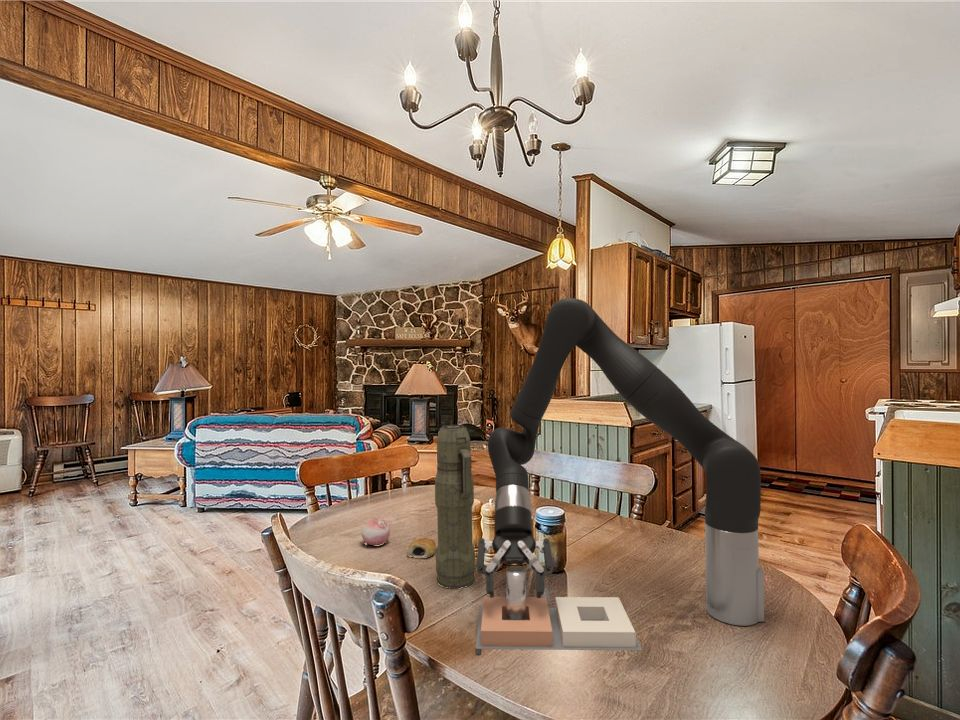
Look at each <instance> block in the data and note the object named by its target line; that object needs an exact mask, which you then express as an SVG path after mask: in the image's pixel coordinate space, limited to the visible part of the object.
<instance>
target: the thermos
mask: <svg viewBox="0 0 960 720" xmlns="http://www.w3.org/2000/svg"><path fill="white" fill-rule="evenodd" d="M436 462H437V467H436V468H437V469H436V475H435V478H434V501H435V502H434V504H435V506H436V508H437V509H436V510H437V515H436V516H437V545H436V550H435V572H436V583H437V582H438V583H439V584H440V585H442V586H444V587H448V588H449V587H450V588H461V587H465V586H468V587H470V586H471V584H472V583H473V582H474V583H475V581H476V578H475V571H476V549H475V547H474V544H473V543H474V542H473V505H474V503H475V498H474V497H475V496H474V495H475V492H474V491H475V487H474V480H475V479H474V478H473V475H472V454H471V437H470V434H469V431H468V429H467V427H466V426H464V425H462V424H448V425H446V424H445V425H443V426H442V427H440V428H439V431H438V434H437V438H436ZM438 583H437V584H438ZM474 583H473V584H474ZM473 584H472V585H473ZM440 585H439V586H440ZM469 585H470V586H469ZM444 587H443V588H444ZM448 588H447V589H448ZM465 588H466V587H465ZM461 589H462V588H461Z"/></svg>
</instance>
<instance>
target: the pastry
mask: <svg viewBox="0 0 960 720" xmlns="http://www.w3.org/2000/svg"><path fill="white" fill-rule="evenodd" d="M436 549H437V545H436V541H435V540H434V539H432V538H429V537H428V538H427V537H423V538H418V539H415V540H414V541H412V542H411V543H409V546H408V551H407V552H406V553H407V556H408V555H409V556H410V555H411V556H421V557H429V556H432V555H433V554H434V553H435V554H436ZM409 556H408V557H409ZM433 556H434V555H433ZM433 556H432V557H433Z"/></svg>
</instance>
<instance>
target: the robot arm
mask: <svg viewBox="0 0 960 720" xmlns="http://www.w3.org/2000/svg"><path fill="white" fill-rule="evenodd" d="M540 339H541V340H540V342H539V346H538V348H537V352H536V353H535V357H534V359H533V362H532V365H531V366H530V369H529V371H528V373H527V375H526V377H525V379H524V382H523V384H522V386H521V388H520V390H519V392H518V394H517V396H516V399H515V401H514V404H513V405H512V407H511V409H510V413H509V416H510V418H511V420H512V421H513V422H514V423H516V424H517V425H518V426H520V427H522V428H523V429H522V432H520V431H516V430H513V429H510V428H506V427H502V426H501V427H500V426H499V427H497V428H495V429H493V431H491V433H490V434H489V437H488V441H487V451H488V455H489V459H490V462H491V466H492V469H493V471H494V475H495V498H494V511H493V512H494V536H493V539H492V540H485V538H484V537H480V538H479V539H478V543H477V545H478V546H477V557H476V572H477V574H478V575H484V576H485V590H486V594H487V595H489V597H490V598H494V597H495V596H494V595H495V587H494V586H495V582H494V581H495V580H494V579H495V578H494V577H495V576H494V575H495V573H496V572H497V570H499V569H500V568H501V566H502V565H503V563H504V564H505V565H506V566H512V565H518V566H522V565H524V564H526V565H527V567H528V568H529V569H531V570H532V571H533V573H534V574H535V587H536V597H537V598H541V597H542V595H544V594H545V590H546V589H545V576H547V575H551V574H553V572H554V571H553V569H554V563H553V555H552V548H551V542H550V539H549V538H548V537H547V538H546V537H545V538H544V539H543V540H535V538H534V534H533V533H534V532H533V518H532V517H533V516H532V514H533V513H532V511H533V510H532V501H531V497H530V485H529V483H530V482H529V480H530V479H529V473H528V471H527V469H526V468H525V467H524V466H523V465H525V464H527V463H529V462H530V461H531V460H532V458H533V456H534V455H535V451H536V450H535V449H536V444H537V436H538V432H539V428H540V424H541V421H542V419H543V417H544V415H545V413H546V411H547V409H548V407H549V405H550V403H551V401H552V398H553V395H554V393H555V389H556V386H557V383H558V379H559V376H560V374H561V372H562V369H563V367H564V365H565V363H566V360H567V359H568V356H569V355H570V354H571V352H572V351H573V349H574V347H575V346H576V347H577V348H579V350H581V351H582V352H583V353H585V354H586V355H587V356H588V357H589V358H590V359H591V360H592V361H594V362H595V363H596V364H597V366H598V367H599V369H600V370H601V371H602V373H603V374H604V376H605V377H606V378H607V380H608V381H609V382H610V383H611V386H612V387H613V388H614V389H615V391H617V393H618V394H619V395H620V396H621V397H622V398H623V399H624V400H625V401H626V402H627V403H628V404H630V406H632V407H633V408H634V410H636V411H637V412H638V413H639V414H640V415H642V417H644V418H645V419H647V420H648V421H649V422H651V424H653V425H654V426H656V427H657V428H659V429H660V430H662V431H664V433H666V434H668V435H670V436H671V437H672V438H673V439H675V440H676V441H677V442H678V443H679V444H681V446H682V447H684V449H685V450H687V452H688V453H689V454H690V455H691V456H692V457H693V458H694V459H695V460H696V462H697V463H698V464H699V466H700V467H702V469H703V471H704V473H705V498H706V499H705V508H704V543H705V544H704V545H705V546H704V548H705V550H704V551H705V552H704V553H705V564H704V565H705V608H706V611H707V614H708V615H710V616H712V618H714V619H716V620H717V621H720V622H722V623H726V624H729V625H733V626H742V627H743V626H744V627H745V626H753V625H755V624H757V623H758V622H765V581H764V580H765V574H764V570H763V569H762V568H761V567H760V566H759V565H760V563H759V562H760V561H759V560H760V559H759V556H760V555H759V551H760V550H759V520H760V519H759V518H760V515H761V506H762V505H761V501H762V499H761V498H762V497H761V496H762V494H761V492H762V483H761V482H762V479H761V478H762V477H761V476H762V475H761V467H760V463H759V461H758V459H757V457H756V456H755V454H754V453H753V452H751V451H750V449H748V448H747V447H746V446H745V445H744V444H742V443H741V442H739V441H738V440H736V439H734V438H733V437H731V436H730V435H729V434H727V433H726V432H725V431H723V430H722V429H721V428H719V427H718V426H717V425H715V423H714V422H712V421H711V420H709V419H708V418H707V417H705V414H702V412H701V411H700V410H699V409H698V408H697V407H696V406H695V404H694V403H693V402H692V400H691V399H690V398H689V397H688V396H687V395H686V394H685V393H684V391H683V390H681V389H682V388H680V387H679V386H678V385H677V384H676V383H675V382H674V381H673V380H672V379H671V378H670V377H669V376H668V375H666V373H664V372H663V371H662V369H660V368H659V367H658V366H657V365H655V364H654V363H653V362H651V361H650V360H649V359H648V358H647V357H646V356H645V355H643V354H642V353H641V352H639V351H638V350H636V349H635V348H634V347H632V346H631V345H630V344H628V343H627V342H625V340H623V339H622V338H621V337H620V336H618V335H617V334H616V333H615V332H614V331H613V329H611V327H610V326H609V325H608V324H606V322H605V321H604V320H603V319H602V318H601V317H600V316H599V315H598V313H597V312H596V311H595V310H594V309H593V307H592V306H591V305H590V304H589V303H587V302H586V301H584V300H582V299H579V298H573V297H566V298H562V299H560V300H558V301H556V302H555V303H554V304H553V305H552V306H551V307H550V309H549V311H548V314H547V318H546V321H545V325H544V328H543V333H542V335H541V338H540ZM491 548H492V550H493V551H494V553H495V554H494V555H493V557H492V559H491V561H490V562H489V564H488V565H486V564H485V555H486V554H487V553H489V551H490V549H491ZM536 549H538V550H539V552H540V553H541V554H543V559H544V565H542V564H541V563H540V562H539V561H538V559H537V557H536V556H535V555H534V554H533V553H534V551H535V550H536Z"/></svg>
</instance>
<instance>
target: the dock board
mask: <svg viewBox="0 0 960 720" xmlns="http://www.w3.org/2000/svg"><path fill="white" fill-rule="evenodd" d="M482 600H483V601H482V606H479V609H478V617H477V618H478V619H477V629H476V630H477V631H476V641H475V655H482V650H547V651H548V650H549V651H551V650H553V651H555V650H556V651H558V650H560V651H562V650H563V651H565V650H566V651H635V652H636V651H643V648H642V646H641V644H640V642H639V639H638V637H637V635H636V634H637V633H636V631H635V629H634V628H635V627H633V626H634V625H633V624H632V621H631V619H630V618H629V616H628V614H627V612H626V610H625V608H624V606H623V603H622V602H621V600H620V597H615V596H613V597H612V596H611V597H606V596H605V597H604V596H603V597H601V596H599V597H598V596H597V597H595V596H594V597H593V596H592V597H591V596H590V597H589V596H587V597H586V596H585V597H584V596H583V597H582V596H579V597H578V596H555V607H549V605H548V600H547V596H541V598H537V596H526V620H506V596H494V598H490V596H483V599H482Z"/></svg>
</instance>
